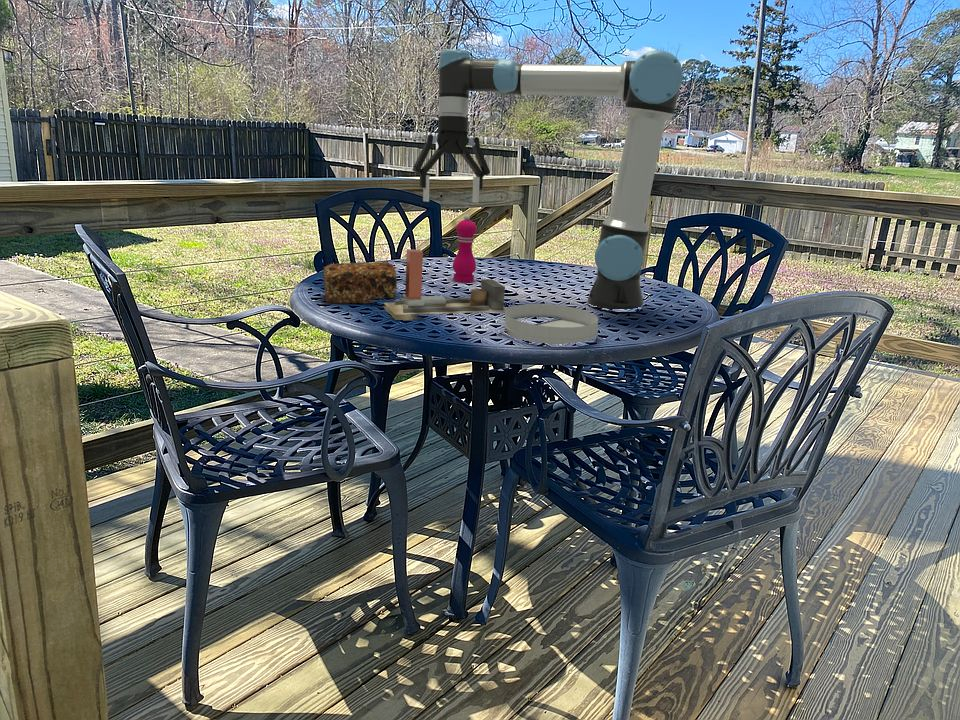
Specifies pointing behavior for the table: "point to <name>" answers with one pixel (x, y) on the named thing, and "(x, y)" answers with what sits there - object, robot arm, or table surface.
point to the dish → (551, 324)
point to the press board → (454, 304)
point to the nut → (478, 297)
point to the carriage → (417, 284)
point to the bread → (359, 282)
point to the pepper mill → (465, 252)
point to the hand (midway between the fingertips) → (451, 202)
